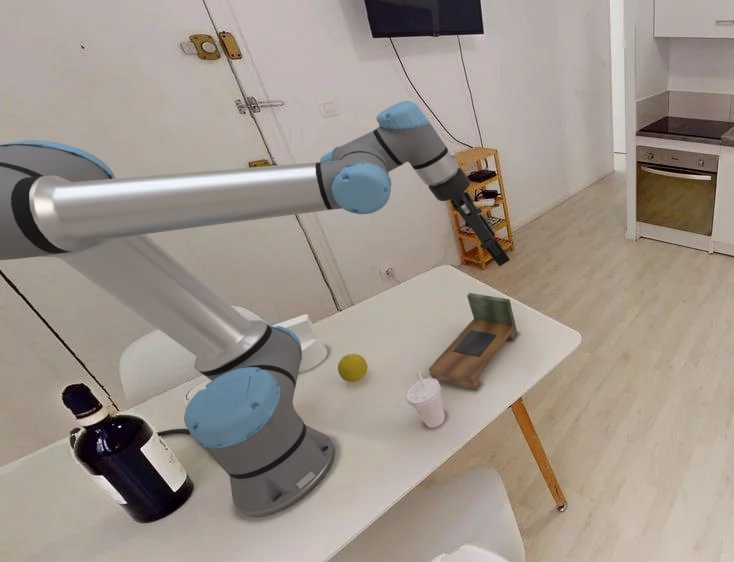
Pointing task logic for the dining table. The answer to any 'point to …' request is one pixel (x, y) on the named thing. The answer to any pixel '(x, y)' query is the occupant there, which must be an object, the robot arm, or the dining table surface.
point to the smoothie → (427, 400)
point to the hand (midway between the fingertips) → (497, 249)
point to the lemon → (352, 367)
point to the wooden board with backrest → (476, 342)
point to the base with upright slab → (306, 341)
